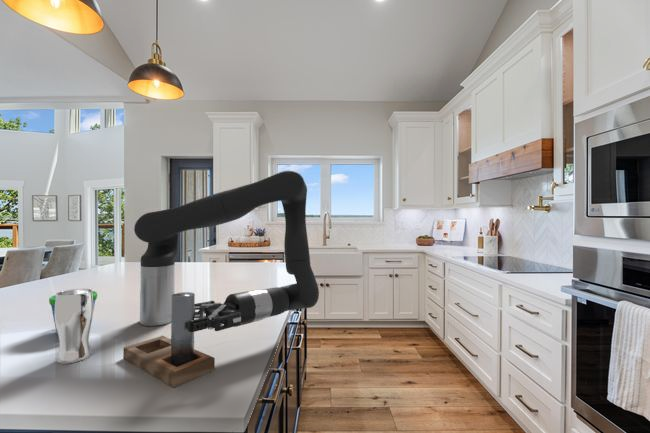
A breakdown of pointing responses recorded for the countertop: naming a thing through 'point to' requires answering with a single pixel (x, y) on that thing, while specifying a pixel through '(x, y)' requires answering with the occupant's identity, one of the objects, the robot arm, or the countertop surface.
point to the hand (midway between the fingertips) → (180, 321)
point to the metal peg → (182, 328)
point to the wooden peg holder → (166, 361)
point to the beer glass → (73, 324)
